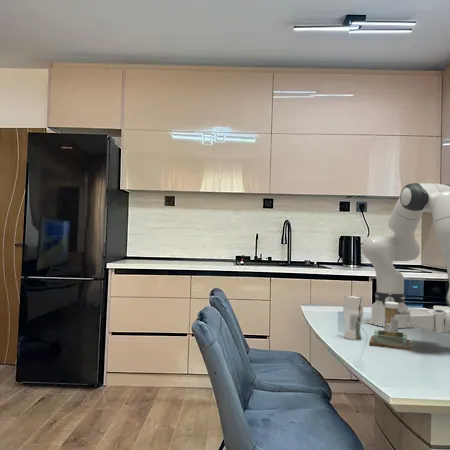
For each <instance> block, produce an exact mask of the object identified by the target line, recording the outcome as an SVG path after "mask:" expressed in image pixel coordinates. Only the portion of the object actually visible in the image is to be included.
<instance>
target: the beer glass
mask: <svg viewBox="0 0 450 450" xmlns="http://www.w3.org/2000/svg"><path fill="white" fill-rule="evenodd" d="M363 298H364V297H362V296H357V295H356V296H354V295H344V297H343V307H342V308H343V309H342V311H343V319H344V333H343V338H344V339H346V340H352V341H361V340H362V334H361V325H362V320H363V314H364V301H363Z"/></svg>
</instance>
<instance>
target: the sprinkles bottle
mask: <svg viewBox="0 0 450 450" xmlns="http://www.w3.org/2000/svg"><path fill="white" fill-rule="evenodd" d="M398 308H399V304H398V303H396V302H385V327H383V329H384V330H383V331H385V336H394V337H397V336H398V335H397V334H398V332H399V328H398V320H395V319H394V315H395V314H397V315H398Z"/></svg>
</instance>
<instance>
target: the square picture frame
mask: <svg viewBox="0 0 450 450" xmlns="http://www.w3.org/2000/svg"><path fill="white" fill-rule="evenodd" d="M397 335H398V336H397V337H394V336H385V331H384V330H381V329H375V330H374V332H373V335H371V336H370V339H369V342H368V346H369V347H377V346H379V347H378V348H385V347H387V348H388V349H395V350H396V349H397V350H403V351H404V350H405V351H412V344H411V343H412V342H411V339H408V338H407V335H408V334H407V332H401V331H398V334H397ZM387 348H386V349H387Z"/></svg>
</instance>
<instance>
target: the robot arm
mask: <svg viewBox="0 0 450 450" xmlns="http://www.w3.org/2000/svg"><path fill="white" fill-rule="evenodd" d="M424 213H431V216H432V222H433V227H434V230H435V236H436V238H437V241H438V242H439V246H440V250H441V252H442V254H443V257H444V263H445V267H446V273H447V281H448V288H447V292H446V295H445V302H446V306H445V305H444V306H443V305H433V307H432V308H427V309H422V308H414V307H412V308H409V307H408V306H407V304H406V303H405V302H406V295H405V276H404V275H403V273H402V272H401V271H399V270H398V269H396V268H395V266H394V263H393V262H408V261H409V262H410V261H413V260H416V259H417V258H418V257H419V255H420V254H421V253H420V252H421V246H420V243H419V242H418V240H417V239H416V236H415V234H416V233H415V232H416V230H417V227H418V225H419V223H420V221H421V218H422V217H423V214H424ZM387 221H388V228H389V229H390V230H391V231H392V232H393V234H392V235H372V236H367V237H366V238H365V239H364V240H363V241H362V244H361V252H362V254H363V256H364V258H366V259H367V260H368V261H369V262H370V263H371V265H372V266H373V269H374V272H375V277H376V278H375V279H376V291H375V294H374V295H375V302H373V303H372V304H371V314H370V317H371V318H370V319H368V320H366V323H367V324H369V325H370V324H371V325H373V324H374V325H373V326H377V325H378V326H377V327H382V326H383V328H384V327H385V302H396V303H398V304H399V308H398V315H397V314H395V315H394V319H395V320H398V329H405V328H416V329H417V328H418V329H422V330H428V331H429V330H430V331H433V333H440V334H450V184H442V183H437V182H436V183H435V182H430V183H429V182H428V183H427V182H425V183H424V182H423V183H418V182H412V183H407V184H406V185H404V187H403V188H402V189H401V192H400V195H399V197H398V199H397V201H396V203H395V205H394V208H393V210H392V212H391V214H390V217H389V218H388V220H387Z"/></svg>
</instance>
